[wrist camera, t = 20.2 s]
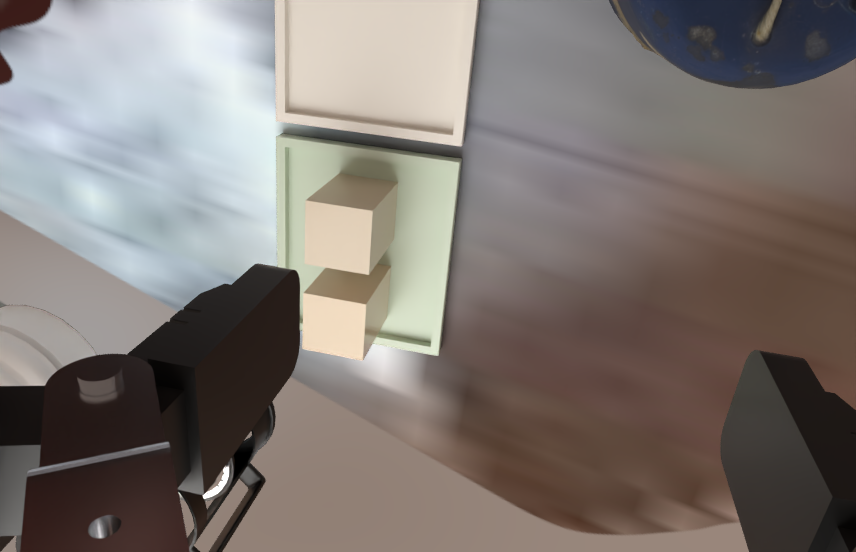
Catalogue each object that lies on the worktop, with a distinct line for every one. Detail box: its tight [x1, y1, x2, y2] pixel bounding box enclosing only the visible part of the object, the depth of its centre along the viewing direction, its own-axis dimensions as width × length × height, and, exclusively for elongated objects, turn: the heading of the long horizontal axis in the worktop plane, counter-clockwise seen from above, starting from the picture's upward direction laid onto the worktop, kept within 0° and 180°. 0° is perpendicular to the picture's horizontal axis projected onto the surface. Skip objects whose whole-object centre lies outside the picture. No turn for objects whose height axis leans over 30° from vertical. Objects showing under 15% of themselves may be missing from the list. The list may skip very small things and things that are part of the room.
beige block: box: [305, 173, 398, 275], centre depth 41 cm, size 4×4×6 cm
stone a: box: [302, 264, 391, 361], centre depth 43 cm, size 4×4×6 cm
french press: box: [16, 402, 275, 552], centre depth 44 cm, size 12×9×23 cm
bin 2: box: [276, 133, 462, 356], centre depth 45 cm, size 12×14×1 cm
